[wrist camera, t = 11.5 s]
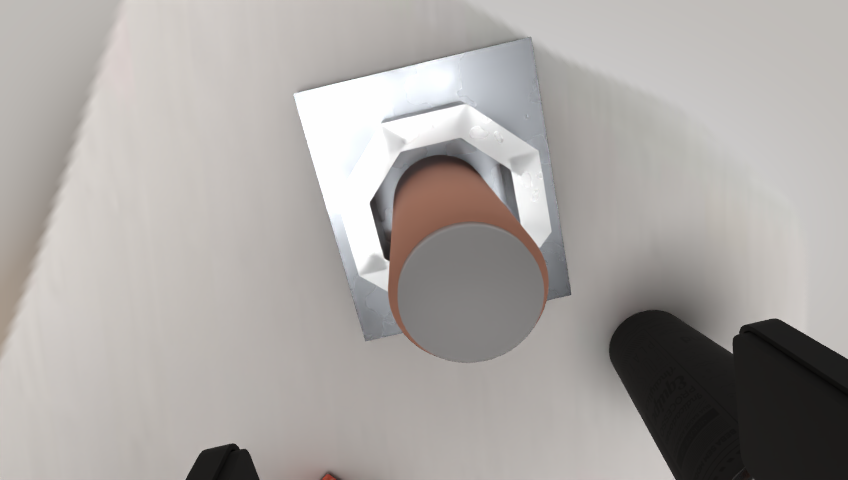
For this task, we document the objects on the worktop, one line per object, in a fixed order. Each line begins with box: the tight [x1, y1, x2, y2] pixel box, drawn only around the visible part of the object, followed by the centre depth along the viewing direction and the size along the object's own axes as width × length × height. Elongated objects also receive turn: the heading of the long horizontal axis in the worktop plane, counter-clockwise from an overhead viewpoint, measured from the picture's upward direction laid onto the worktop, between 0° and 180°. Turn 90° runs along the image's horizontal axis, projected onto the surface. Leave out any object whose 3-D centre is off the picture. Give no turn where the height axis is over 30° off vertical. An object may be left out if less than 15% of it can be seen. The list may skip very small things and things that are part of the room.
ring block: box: [293, 37, 571, 341], centre depth 27 cm, size 14×12×4 cm
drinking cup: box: [609, 310, 754, 480], centre depth 22 cm, size 8×8×20 cm
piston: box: [388, 155, 549, 363], centre depth 22 cm, size 5×5×13 cm
